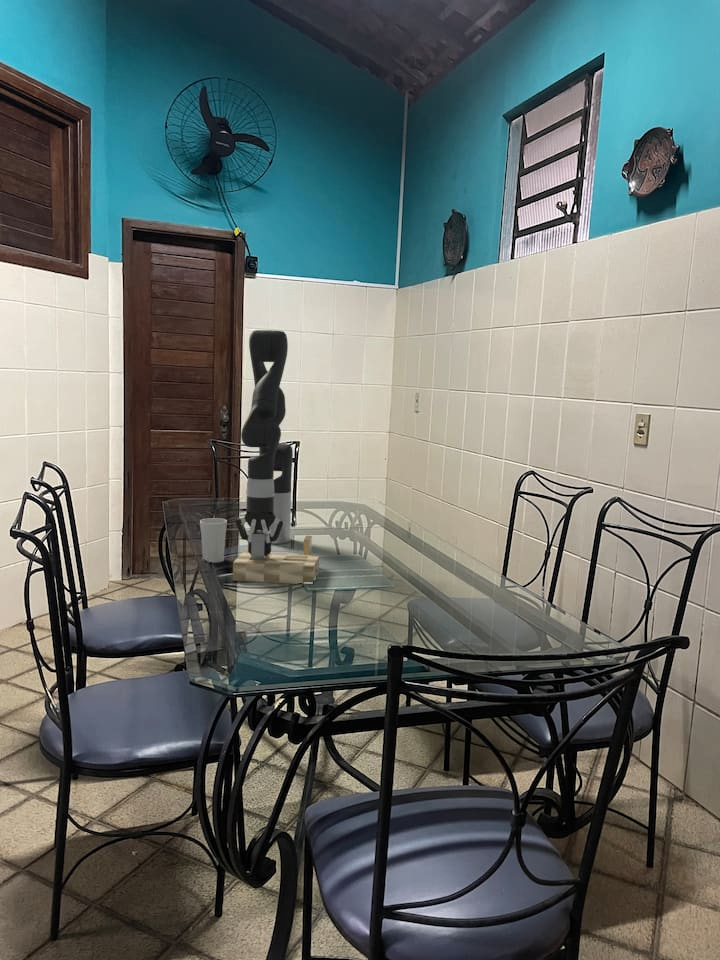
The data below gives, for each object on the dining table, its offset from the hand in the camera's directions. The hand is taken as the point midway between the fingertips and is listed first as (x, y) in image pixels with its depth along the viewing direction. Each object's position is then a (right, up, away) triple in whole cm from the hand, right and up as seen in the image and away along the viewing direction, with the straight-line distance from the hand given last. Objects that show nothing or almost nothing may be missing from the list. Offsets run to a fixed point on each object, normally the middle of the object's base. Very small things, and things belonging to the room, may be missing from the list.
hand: (259, 554), depth 193 cm
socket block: (+5, -6, +1) cm, 8 cm away
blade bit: (+12, -5, +11) cm, 17 cm away
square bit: (0, -4, 0) cm, 3 cm away
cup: (-16, -3, +16) cm, 23 cm away
